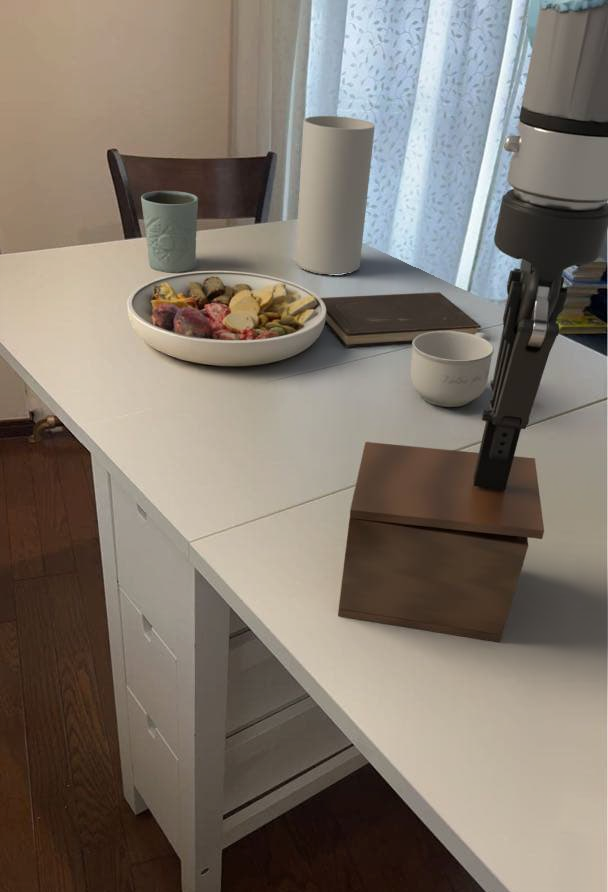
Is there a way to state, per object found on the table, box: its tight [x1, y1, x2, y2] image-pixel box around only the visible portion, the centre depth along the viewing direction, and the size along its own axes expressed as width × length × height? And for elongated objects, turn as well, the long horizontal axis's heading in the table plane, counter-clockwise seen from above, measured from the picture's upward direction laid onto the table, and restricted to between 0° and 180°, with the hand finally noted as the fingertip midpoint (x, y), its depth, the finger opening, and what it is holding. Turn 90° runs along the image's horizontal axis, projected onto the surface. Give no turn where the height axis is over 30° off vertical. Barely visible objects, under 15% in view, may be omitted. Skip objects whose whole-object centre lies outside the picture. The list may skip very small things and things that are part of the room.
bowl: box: [126, 270, 326, 367], centre depth 122 cm, size 30×30×8 cm
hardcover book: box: [320, 291, 482, 349], centre depth 131 cm, size 16×23×2 cm
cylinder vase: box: [295, 115, 376, 275], centre depth 147 cm, size 12×12×25 cm
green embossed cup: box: [140, 190, 199, 273], centre depth 146 cm, size 10×10×12 cm
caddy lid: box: [349, 441, 545, 540], centre depth 70 cm, size 16×12×1 cm
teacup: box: [410, 331, 495, 408], centre depth 110 cm, size 14×11×8 cm
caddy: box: [337, 517, 529, 643], centre depth 74 cm, size 15×12×11 cm
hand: (489, 483), depth 69 cm, fingers closed
